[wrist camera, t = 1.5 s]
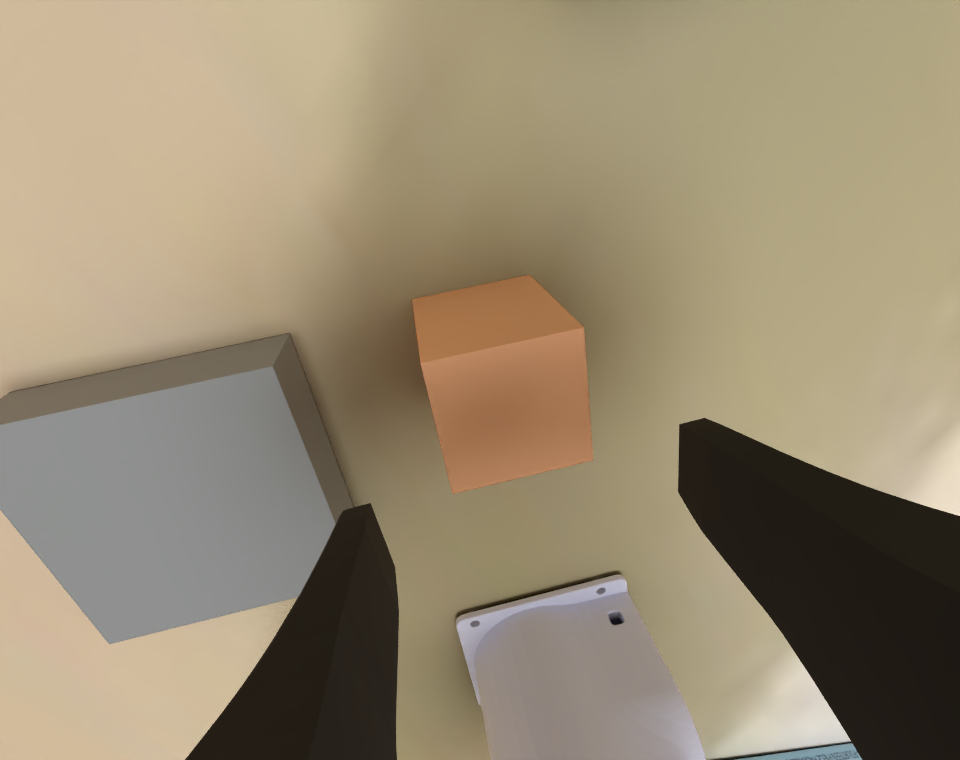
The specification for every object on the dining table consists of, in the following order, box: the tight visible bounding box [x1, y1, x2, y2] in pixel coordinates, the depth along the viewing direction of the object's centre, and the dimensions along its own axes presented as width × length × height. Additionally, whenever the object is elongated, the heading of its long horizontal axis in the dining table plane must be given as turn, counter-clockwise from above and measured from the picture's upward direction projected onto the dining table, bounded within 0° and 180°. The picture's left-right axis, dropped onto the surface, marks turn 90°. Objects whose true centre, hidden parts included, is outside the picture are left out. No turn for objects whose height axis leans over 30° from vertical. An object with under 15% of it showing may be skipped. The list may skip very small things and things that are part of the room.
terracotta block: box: [412, 275, 593, 494], centre depth 17 cm, size 5×5×6 cm
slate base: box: [0, 333, 354, 644], centre depth 19 cm, size 10×10×3 cm
